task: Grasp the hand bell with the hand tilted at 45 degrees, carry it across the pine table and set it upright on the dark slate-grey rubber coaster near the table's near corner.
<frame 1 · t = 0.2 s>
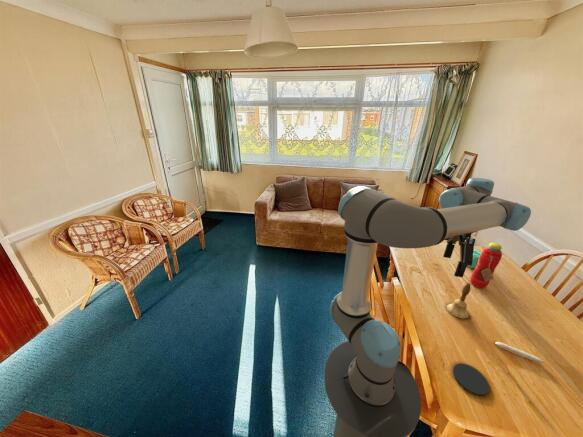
hand: (452, 266, 94), 25 cm above the table, tool pointing down, fingers open, 13 cm apart
pen: (517, 354, 86), on the table
hand bell: (457, 311, 104), on the table
corner coaster: (470, 379, 78), on the table
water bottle: (477, 286, 119), on the table
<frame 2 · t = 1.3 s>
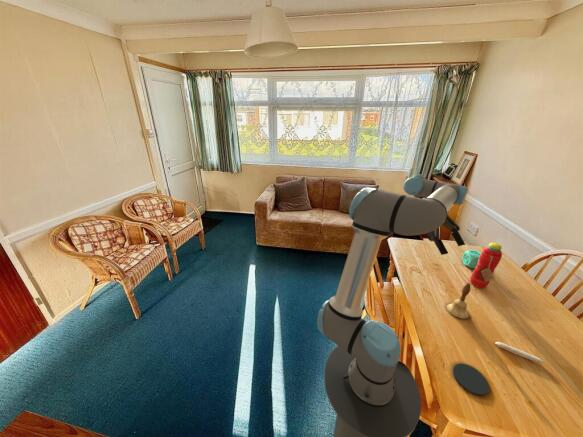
hand: (453, 249, 99), 28 cm above the table, tool tilted 45°, fingers open, 13 cm apart
nothing on the table moved.
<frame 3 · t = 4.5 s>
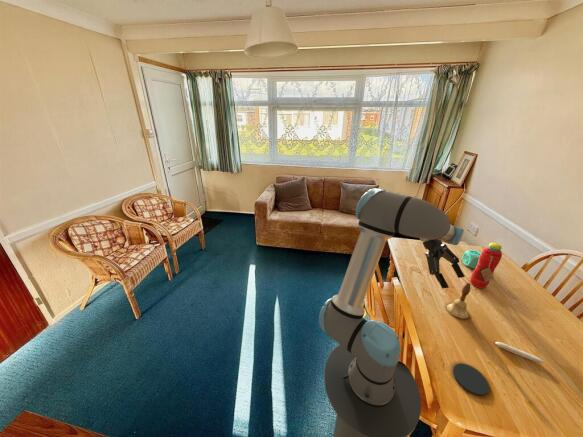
hand: (453, 282, 103), 13 cm above the table, tool tilted 45°, fingers open, 13 cm apart
nothing on the table moved.
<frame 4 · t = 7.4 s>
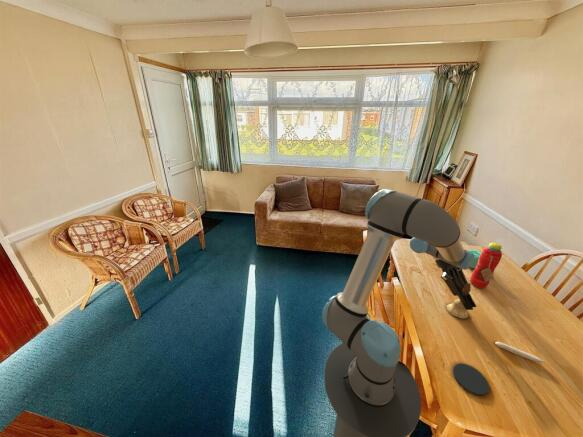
hand: (471, 308, 99), 6 cm above the table, tool tilted 45°, fingers closed on hand bell, 2 cm apart
hand bell: (457, 311, 104), on the table, touching gripper
everything else where it was.
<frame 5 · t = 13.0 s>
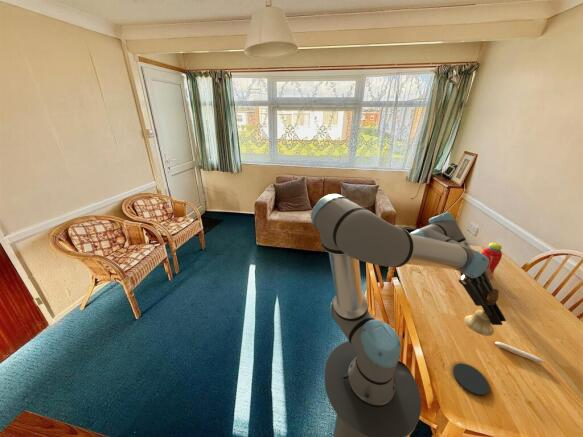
hand: (499, 322, 74), 21 cm above the table, tool tilted 45°, fingers closed on hand bell, 2 cm apart
hand bell: (478, 325, 80), point 15 cm above the table, touching gripper
everything else where it was.
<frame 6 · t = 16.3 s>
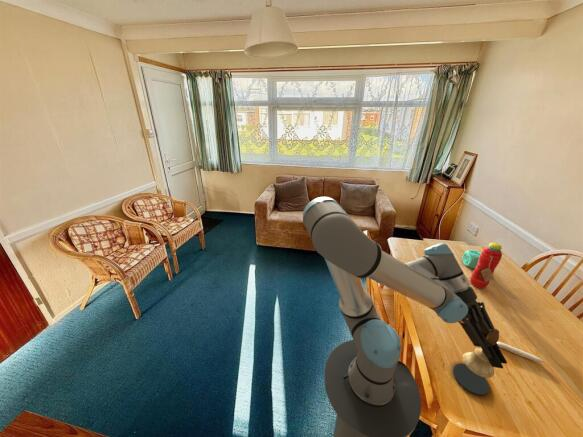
hand: (499, 364, 69), 14 cm above the table, tool tilted 45°, fingers closed on hand bell, 2 cm apart
hand bell: (477, 365, 75), point 8 cm above the table, touching gripper
everything else where it was.
when the fingers open (6 cm above the table, at t = 18.5 s): hand bell stays where it is, resting on corner coaster.
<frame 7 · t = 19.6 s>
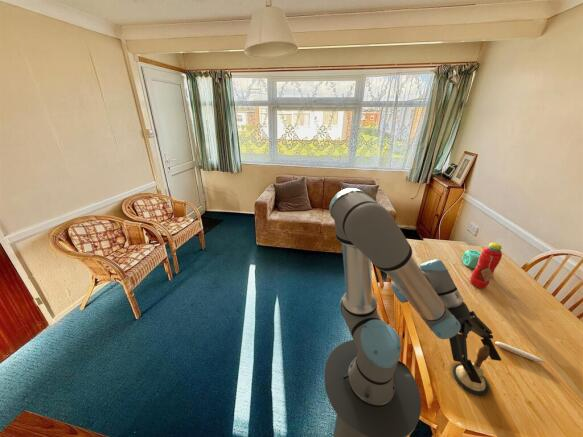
hand: (486, 370, 72), 8 cm above the table, tool tilted 45°, fingers open, 13 cm apart
hand bell: (469, 378, 78), resting on corner coaster
everything else where it was.
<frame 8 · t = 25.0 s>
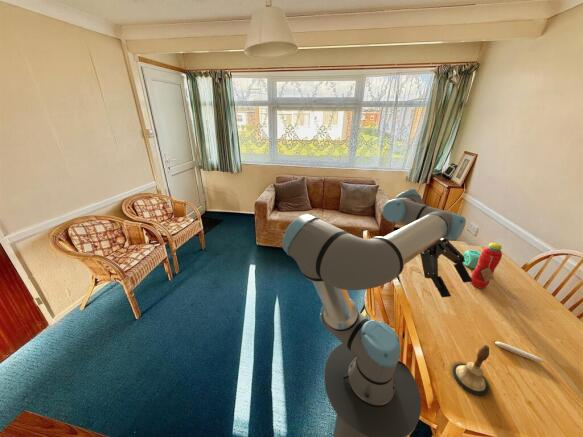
hand: (457, 289, 75), 30 cm above the table, tool tilted 45°, fingers open, 13 cm apart
nothing on the table moved.
at the end: hand bell inside the target area on the corner coaster (0.1 cm from its centre), point 0.4 cm above the corner coaster's base; hand bell tilted 0° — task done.
